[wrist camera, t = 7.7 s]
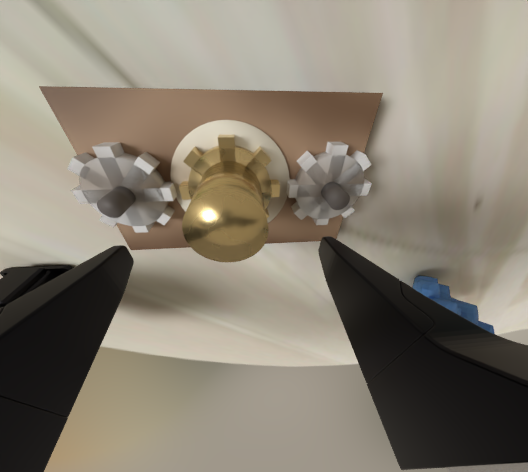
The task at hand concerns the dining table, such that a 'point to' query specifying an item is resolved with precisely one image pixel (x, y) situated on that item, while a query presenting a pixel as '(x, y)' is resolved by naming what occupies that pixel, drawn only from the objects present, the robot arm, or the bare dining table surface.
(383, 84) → the dining table surface
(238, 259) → the brass gear
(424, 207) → the dining table surface
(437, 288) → the grapes
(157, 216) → the gear board
